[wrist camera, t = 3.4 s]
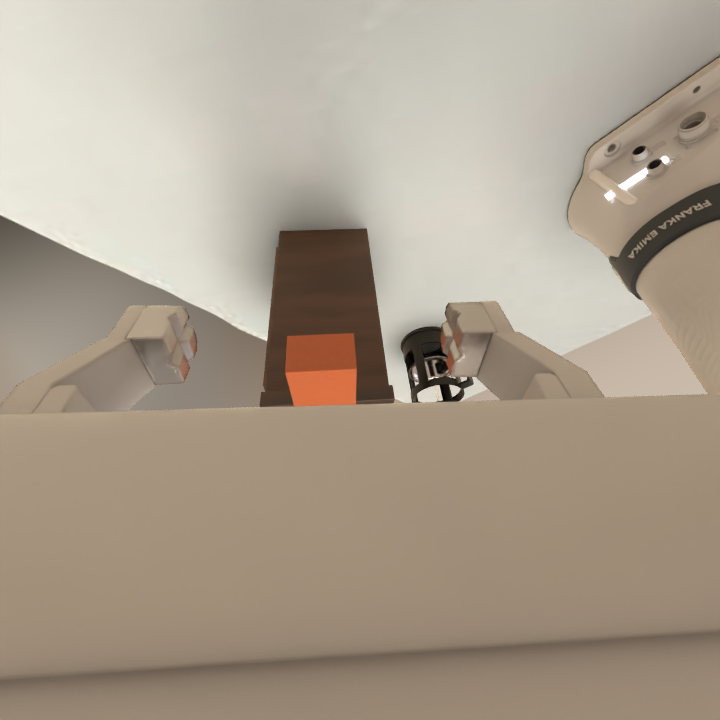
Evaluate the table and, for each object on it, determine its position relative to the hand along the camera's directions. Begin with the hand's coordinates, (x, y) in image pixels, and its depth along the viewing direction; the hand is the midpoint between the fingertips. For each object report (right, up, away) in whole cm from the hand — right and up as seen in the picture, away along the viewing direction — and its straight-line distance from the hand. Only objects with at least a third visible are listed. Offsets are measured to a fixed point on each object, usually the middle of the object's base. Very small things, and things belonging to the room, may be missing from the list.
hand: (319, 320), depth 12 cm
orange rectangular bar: (-2, -7, +23) cm, 24 cm away
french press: (+14, +2, +57) cm, 59 cm away
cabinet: (-4, +12, +42) cm, 44 cm away
